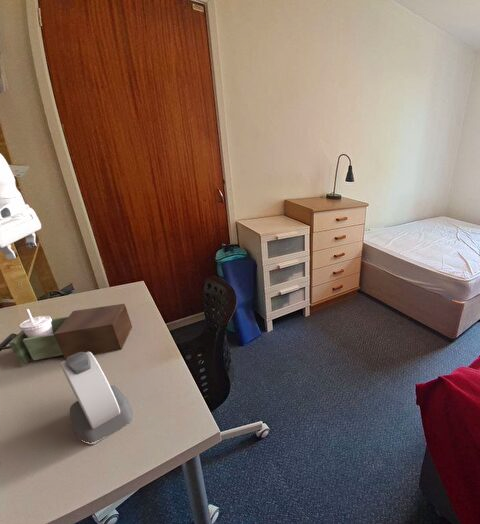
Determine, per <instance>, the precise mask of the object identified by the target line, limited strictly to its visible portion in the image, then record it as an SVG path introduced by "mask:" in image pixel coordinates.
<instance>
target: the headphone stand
mask: <svg viewBox="0 0 480 524" xmlns="http://www.w3.org/2000/svg"><path fill="white" fill-rule="evenodd" d="M60 367H61V370H62V372H63V373H64V376H65V378H66V380H67V382H68V385H69V386H70V388H71V390H72V392H73V394H74V396H75V398H76V401H74V403H72V404H71V406H70V408H69V418H70V425H71V428H72V430H73V432H74V434H75V436H76V437H77V436H78V437H77V438H78V439H79V438H80V439H81V440H83V441H85V442H89V443H92V442H95V441H97V440H100V439H102V438H103V437H105V436H108V435H110V434H111V435H113V434H115V433H116V432H118V431H119V430H121V429H123V428H124V427H126V426H127V425H126V424H128V425H129V424H130V423H131V422H132V421H131V420H133V409H132V406H131V404H130V402H129V399H128V397H127V395H125V394H124V393H123V392H122V390H121V389H119V387H117V386H116V385H111V384H110V383H109V381H108V378H107V377H106V375H105V373H104V371H103V369H102V367H101V365H100V364H99V362H98V360H97V358H96V357H95V355H93V354H92V353H91V352H86V353H85V352H78V353H76V354H74V355H71V356H69V357H67V359H65V360H64V361H62V362H60ZM130 421H131V422H130ZM125 425H126V426H125ZM123 426H124V427H123ZM122 427H123V428H122ZM111 435H110V436H111ZM108 437H109V436H108ZM80 439H79V440H80ZM81 440H80V441H81Z"/></svg>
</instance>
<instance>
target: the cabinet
mask: <svg viewBox="0 0 480 524" xmlns="http://www.w3.org/2000/svg"><path fill="white" fill-rule="evenodd" d="M67 317H68V318H67V319H66V320H65V321H64V323H63V324H62V325H61V326H60V327H59V328H58V330H57V331H56V332H55V333H54V336H55V338H56V340H57V343H58V345H59V347H60V349H61V351H62V353H63V355H62V356H63V357H64V359H65V360H66V359H67V357H69V356H71V355H74V354H76V353H78V352H85V353H86V352H91V353H92V354H93V356H96V355H100V354H106V353H111V352H117V351H121V350H123V348H124V345H125V343H126V341H127V339H128V337H129V334H130V333H131V331H132V329H133V324H132V321H131V319H130V315H129V312H128V309H127V305H126V303H119V304H112V305H105V306H99V307H91V308H85V309H84V308H83V309H78V310H77V309H76V310H73V311H72V312H71V313H70V314H69V315H68V316H67Z"/></svg>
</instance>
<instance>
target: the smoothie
mask: <svg viewBox="0 0 480 524" xmlns="http://www.w3.org/2000/svg"><path fill="white" fill-rule="evenodd" d="M25 311H26V312H25V313H26V314H27V316H28V319H26V320H25V321H23V322H21V323H20V324H18V325H19V326H18V328H19V330H20V331H22V330H23V331H24V333H25V334H26V335H27V337H28V338H31V337H37V336H43V335H49V334H53V330H52V325H51V321H52V319H53V318H52V317H51V316H50V315H39V316H34V317H33V315H32V313H31V312H30V309H29V308H26V309H25Z"/></svg>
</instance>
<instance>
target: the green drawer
mask: <svg viewBox="0 0 480 524" xmlns="http://www.w3.org/2000/svg"><path fill="white" fill-rule="evenodd" d="M68 317H69V316H64V317H56V318H51V319H52V321H51V325H52V330H53V334H49V335H43V336H37V337H31V338H28V337H27V335H26V334H25V333H24V331H23V330H20V331H19V333H10V334H9V335H8V336H7V337H6V338H5V339H4V340H3V341H2V342H0V353H1V352H2V351H5V350H12V352H13V354H14V355H15V357H16V359H17V362H18V363H19V365H20V366H25V365H27V364H28V363H29V362H30V361H31V359H32V360H33V361H38V360H43V359H49V358H55V357H59V356H64V355H63V353H62V351H61V349H60V347H59V345H58V343H57V340H56V338H55V336H54V333H55V332H56V331H57V330H58V328H59V327H60V326H61V325H62V324H63V323H64V321H65V320H66V319H67V318H68Z"/></svg>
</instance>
